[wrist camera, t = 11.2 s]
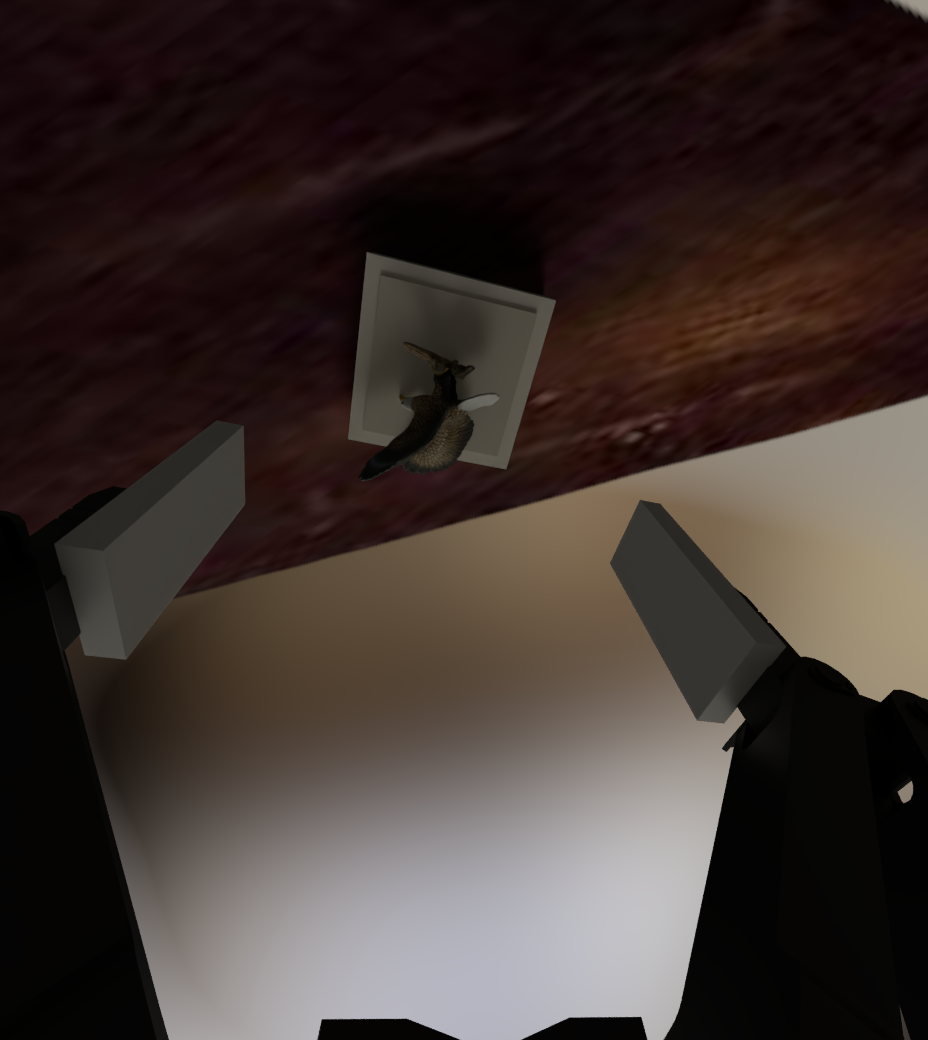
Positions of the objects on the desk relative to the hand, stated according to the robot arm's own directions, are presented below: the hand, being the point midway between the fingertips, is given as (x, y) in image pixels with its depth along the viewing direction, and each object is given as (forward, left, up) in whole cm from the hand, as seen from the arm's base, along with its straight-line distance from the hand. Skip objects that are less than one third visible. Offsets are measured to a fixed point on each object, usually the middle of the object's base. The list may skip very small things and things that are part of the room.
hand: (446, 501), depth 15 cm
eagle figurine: (-1, -3, -18) cm, 18 cm away
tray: (0, 0, -22) cm, 22 cm away
